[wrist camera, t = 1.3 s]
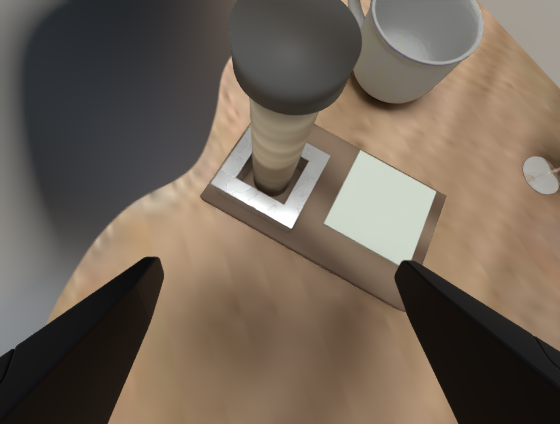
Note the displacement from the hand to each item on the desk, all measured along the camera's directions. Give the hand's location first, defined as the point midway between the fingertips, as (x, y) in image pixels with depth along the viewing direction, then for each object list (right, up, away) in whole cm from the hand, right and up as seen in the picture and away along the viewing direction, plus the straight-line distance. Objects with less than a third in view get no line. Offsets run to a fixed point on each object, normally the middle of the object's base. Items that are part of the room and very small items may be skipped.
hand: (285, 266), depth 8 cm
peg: (-1, +5, +14) cm, 15 cm away
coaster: (+10, +2, +14) cm, 17 cm away
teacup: (+12, +20, +20) cm, 30 cm away
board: (+5, +3, +15) cm, 16 cm away
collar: (-1, +5, +14) cm, 15 cm away
